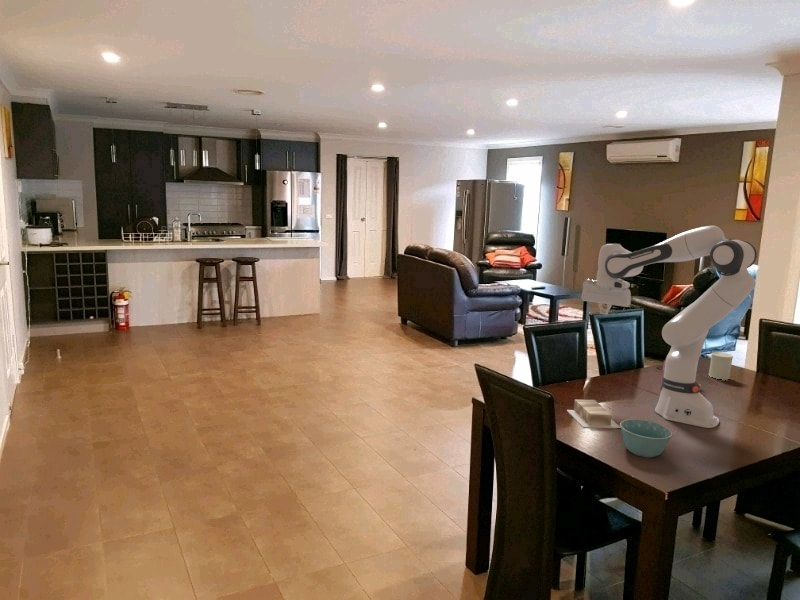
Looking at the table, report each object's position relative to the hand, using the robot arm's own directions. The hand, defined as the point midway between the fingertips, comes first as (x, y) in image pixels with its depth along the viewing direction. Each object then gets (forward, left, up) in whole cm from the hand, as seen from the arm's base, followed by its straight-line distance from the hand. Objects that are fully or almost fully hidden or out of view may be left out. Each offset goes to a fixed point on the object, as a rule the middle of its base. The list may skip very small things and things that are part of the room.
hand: (603, 314), depth 250 cm
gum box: (-22, -35, -34) cm, 54 cm away
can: (-33, -68, -34) cm, 83 cm away
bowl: (-38, +52, -34) cm, 73 cm away
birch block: (-7, +29, -31) cm, 43 cm away
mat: (-14, +36, -34) cm, 51 cm away
